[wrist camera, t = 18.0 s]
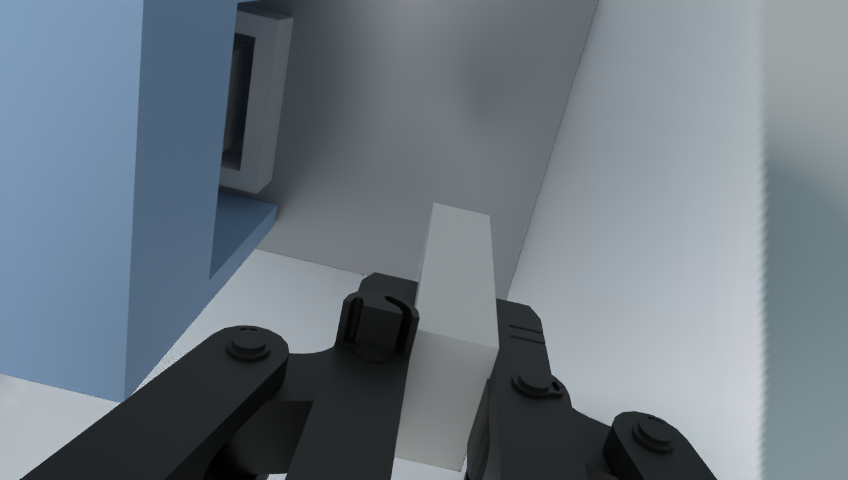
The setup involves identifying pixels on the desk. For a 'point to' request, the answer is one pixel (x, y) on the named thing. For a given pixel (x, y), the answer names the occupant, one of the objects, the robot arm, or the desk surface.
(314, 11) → the housing base
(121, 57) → the housing cover
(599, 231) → the desk surface
